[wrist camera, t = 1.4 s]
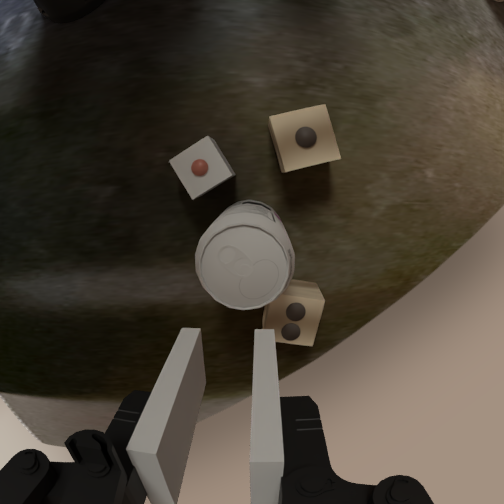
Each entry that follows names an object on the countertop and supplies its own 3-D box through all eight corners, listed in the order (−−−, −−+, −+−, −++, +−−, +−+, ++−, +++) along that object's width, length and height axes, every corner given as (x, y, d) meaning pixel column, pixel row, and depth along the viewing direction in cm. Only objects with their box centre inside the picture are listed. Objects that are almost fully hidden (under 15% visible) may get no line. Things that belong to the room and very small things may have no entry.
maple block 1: (267, 125, 36) (269, 116, 30) (315, 114, 35) (325, 103, 29) (281, 172, 37) (285, 172, 31) (328, 160, 37) (341, 158, 31)
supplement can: (296, 228, 39) (318, 261, 24) (253, 277, 40) (250, 335, 26) (245, 185, 38) (236, 192, 23) (203, 237, 39) (171, 274, 25)
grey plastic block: (180, 162, 37) (168, 160, 32) (214, 140, 37) (207, 135, 31) (200, 196, 38) (191, 199, 33) (235, 174, 38) (232, 175, 32)
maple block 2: (270, 275, 40) (272, 293, 34) (316, 282, 41) (325, 301, 35) (262, 317, 42) (262, 340, 36) (306, 324, 42) (312, 347, 36)
